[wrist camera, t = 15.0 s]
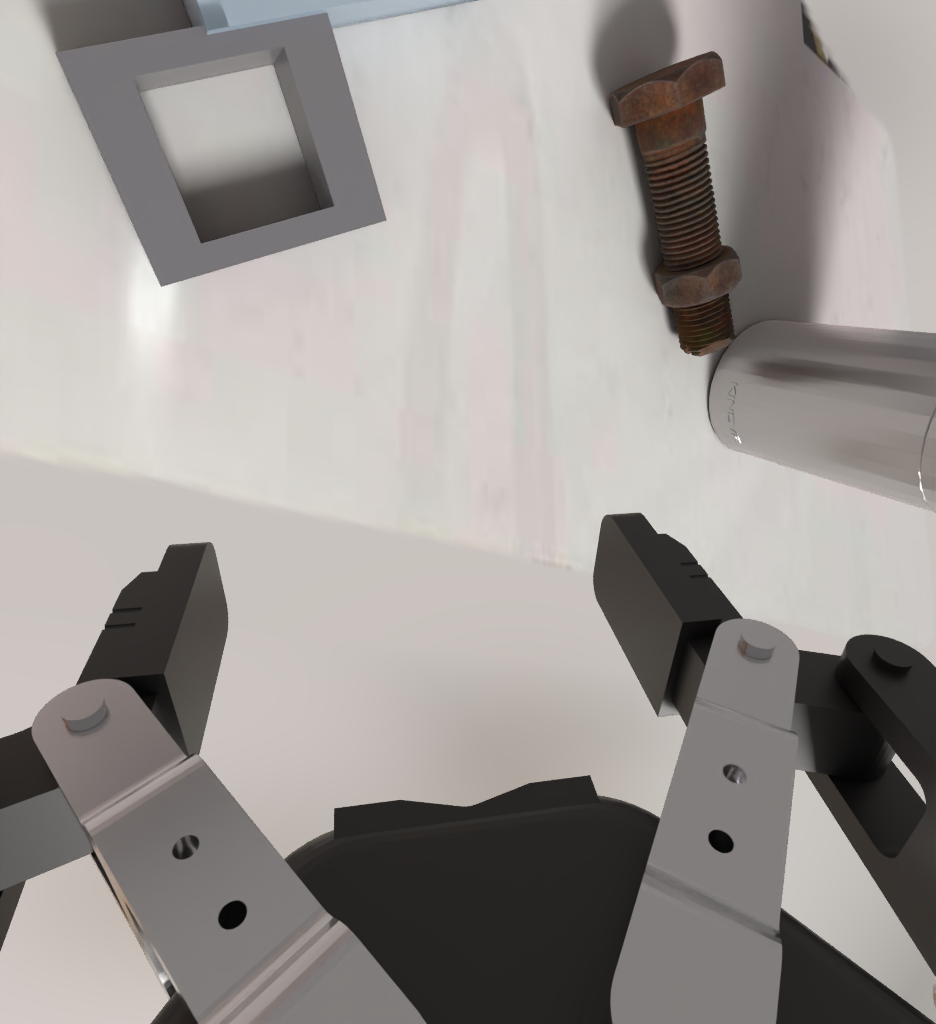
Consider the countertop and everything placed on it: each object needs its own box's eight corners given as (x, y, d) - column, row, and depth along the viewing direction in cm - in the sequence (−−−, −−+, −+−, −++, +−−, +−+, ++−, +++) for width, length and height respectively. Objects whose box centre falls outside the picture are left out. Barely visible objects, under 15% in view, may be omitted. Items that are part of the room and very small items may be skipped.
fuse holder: (310, 23, 27) (324, 3, 25) (370, 223, 31) (386, 220, 29) (63, 71, 24) (54, 52, 22) (160, 285, 28) (161, 286, 26)
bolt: (657, 344, 43) (603, 92, 35) (735, 318, 42) (696, 53, 34) (678, 377, 38) (620, 94, 30) (766, 349, 37) (730, 48, 29)
